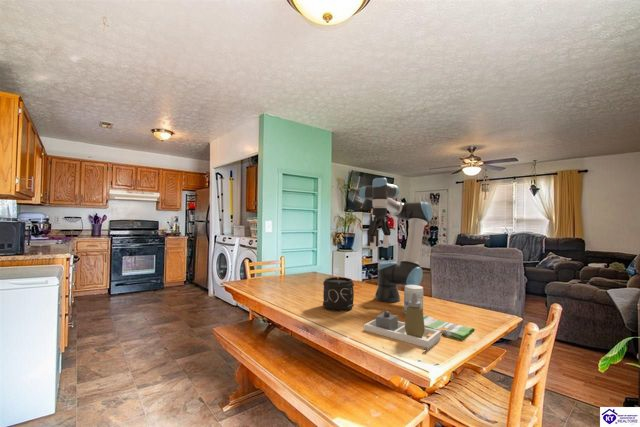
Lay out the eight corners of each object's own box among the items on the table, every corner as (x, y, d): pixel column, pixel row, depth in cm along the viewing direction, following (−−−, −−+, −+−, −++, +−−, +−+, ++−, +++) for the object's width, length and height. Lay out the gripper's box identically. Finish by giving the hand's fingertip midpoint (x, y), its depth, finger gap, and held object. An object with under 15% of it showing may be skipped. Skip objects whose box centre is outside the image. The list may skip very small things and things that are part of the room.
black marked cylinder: (343, 314, 156) (343, 284, 156) (316, 308, 167) (316, 280, 167) (360, 306, 170) (360, 279, 171) (334, 301, 181) (334, 275, 182)
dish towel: (425, 319, 151) (425, 312, 151) (475, 331, 135) (475, 323, 135) (409, 328, 138) (409, 320, 138) (462, 342, 122) (462, 333, 122)
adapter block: (383, 325, 137) (383, 308, 137) (397, 329, 132) (397, 311, 132) (375, 330, 131) (375, 311, 131) (390, 333, 127) (390, 314, 127)
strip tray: (380, 324, 142) (380, 316, 142) (440, 339, 124) (440, 331, 124) (364, 332, 131) (364, 324, 131) (427, 350, 113) (427, 341, 113)
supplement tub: (400, 312, 160) (400, 284, 161) (416, 311, 163) (416, 284, 163) (410, 318, 151) (410, 288, 151) (427, 316, 153) (427, 288, 154)
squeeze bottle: (426, 335, 125) (426, 292, 126) (422, 342, 118) (422, 296, 119) (407, 332, 129) (407, 290, 130) (402, 338, 122) (402, 293, 123)
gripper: (384, 208, 169) (384, 246, 168) (360, 206, 150) (360, 249, 149) (397, 208, 164) (396, 247, 163) (373, 206, 145) (373, 250, 144)
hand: (379, 248), depth 156 cm, fingers open, 13 cm apart
